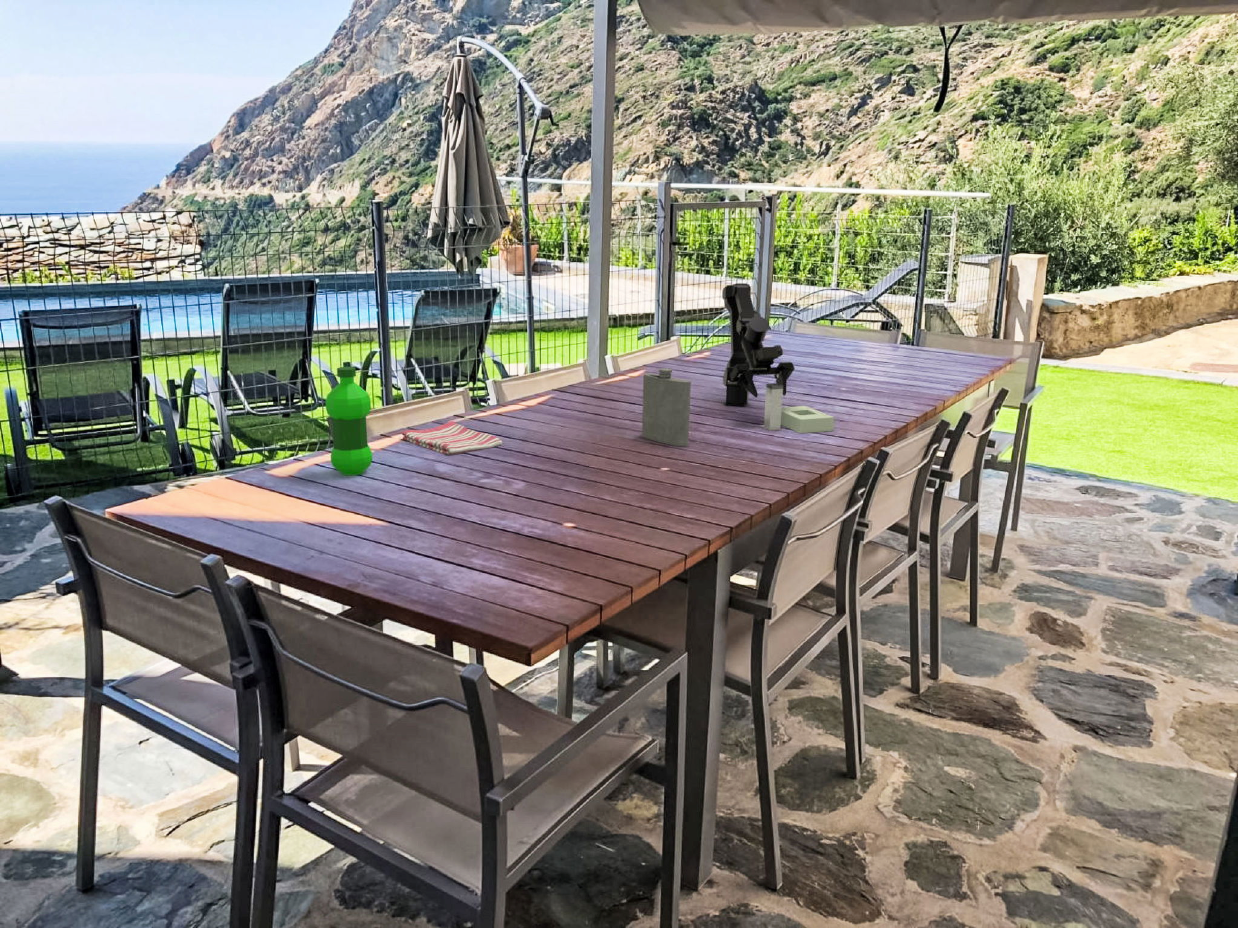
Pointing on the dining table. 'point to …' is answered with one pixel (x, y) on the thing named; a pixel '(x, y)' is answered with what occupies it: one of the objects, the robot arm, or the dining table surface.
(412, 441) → the dish towel
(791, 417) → the post foot
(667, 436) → the hip flask
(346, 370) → the plastic bottle
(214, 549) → the dining table surface
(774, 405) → the pale grey square post
